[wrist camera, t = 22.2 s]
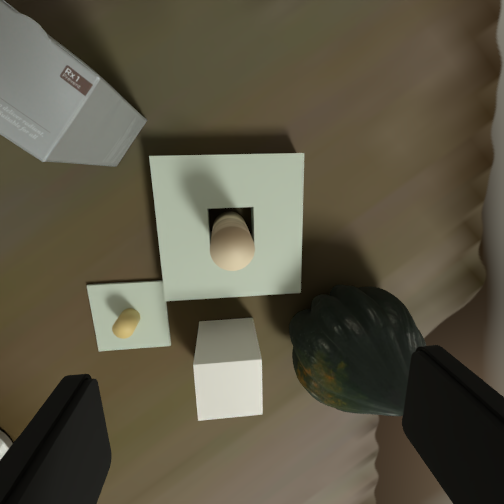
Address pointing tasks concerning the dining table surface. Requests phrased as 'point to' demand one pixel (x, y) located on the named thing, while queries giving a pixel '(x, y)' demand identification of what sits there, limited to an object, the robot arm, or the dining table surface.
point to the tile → (130, 298)
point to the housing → (227, 369)
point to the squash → (355, 350)
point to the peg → (231, 242)
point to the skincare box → (58, 99)
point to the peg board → (228, 196)
